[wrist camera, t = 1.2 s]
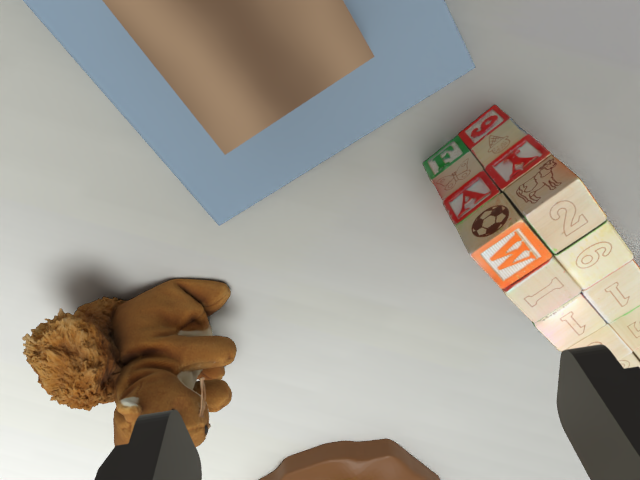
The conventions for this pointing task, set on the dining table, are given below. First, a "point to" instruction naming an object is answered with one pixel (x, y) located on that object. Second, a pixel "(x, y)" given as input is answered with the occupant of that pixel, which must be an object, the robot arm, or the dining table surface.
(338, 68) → the walnut plinth
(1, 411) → the dining table surface
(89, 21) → the light blue board
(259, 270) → the dining table surface
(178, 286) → the stuffed squirrel
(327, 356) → the dining table surface
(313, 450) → the plant
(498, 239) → the stack of blocks
